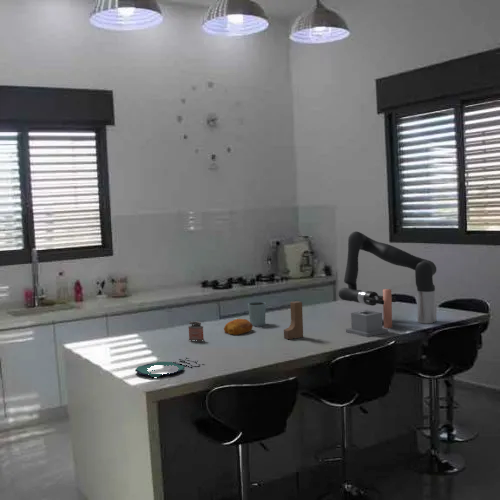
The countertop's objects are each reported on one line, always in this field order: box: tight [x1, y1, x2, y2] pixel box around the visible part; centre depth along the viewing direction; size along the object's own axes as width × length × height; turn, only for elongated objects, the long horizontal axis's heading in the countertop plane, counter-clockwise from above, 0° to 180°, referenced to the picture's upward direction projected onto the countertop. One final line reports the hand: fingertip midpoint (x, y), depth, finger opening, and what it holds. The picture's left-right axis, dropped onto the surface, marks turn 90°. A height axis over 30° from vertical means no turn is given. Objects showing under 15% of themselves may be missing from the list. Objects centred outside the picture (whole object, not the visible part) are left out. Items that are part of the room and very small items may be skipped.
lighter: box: [187, 320, 205, 342], centre depth 323 cm, size 8×3×10 cm, turn 71°
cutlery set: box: [135, 356, 199, 378], centre depth 272 cm, size 20×30×2 cm, turn 132°
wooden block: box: [283, 300, 304, 340], centre depth 320 cm, size 9×4×18 cm, turn 118°
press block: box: [345, 309, 389, 338], centre depth 326 cm, size 15×15×10 cm
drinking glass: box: [247, 301, 267, 327], centre depth 357 cm, size 10×10×12 cm
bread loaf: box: [223, 318, 254, 336], centre depth 340 cm, size 14×16×8 cm
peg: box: [382, 288, 393, 329], centre depth 335 cm, size 4×4×20 cm
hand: (389, 301), depth 334 cm, fingers open, 8 cm apart
